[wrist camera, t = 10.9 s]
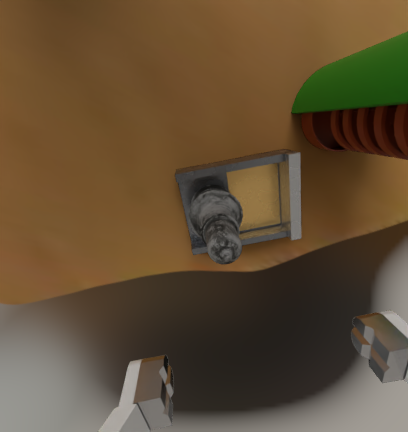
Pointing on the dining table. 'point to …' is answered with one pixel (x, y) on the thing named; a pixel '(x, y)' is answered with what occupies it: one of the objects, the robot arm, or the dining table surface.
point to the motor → (359, 102)
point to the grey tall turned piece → (217, 222)
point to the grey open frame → (252, 194)
